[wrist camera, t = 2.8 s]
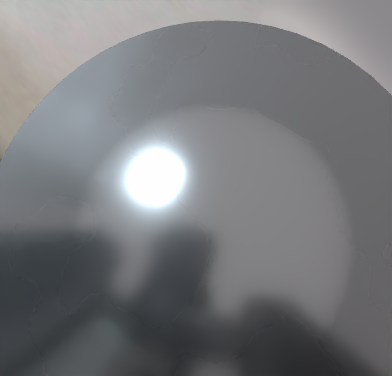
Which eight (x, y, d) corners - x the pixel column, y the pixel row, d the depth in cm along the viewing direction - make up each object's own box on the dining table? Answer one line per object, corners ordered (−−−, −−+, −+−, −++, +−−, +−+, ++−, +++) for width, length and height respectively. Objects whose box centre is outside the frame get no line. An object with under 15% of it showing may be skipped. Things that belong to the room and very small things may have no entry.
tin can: (295, 320, 14) (534, 612, 2) (168, 308, 15) (-85, 458, 4) (291, 192, 15) (416, -6, 4) (177, 191, 17) (25, 38, 5)
